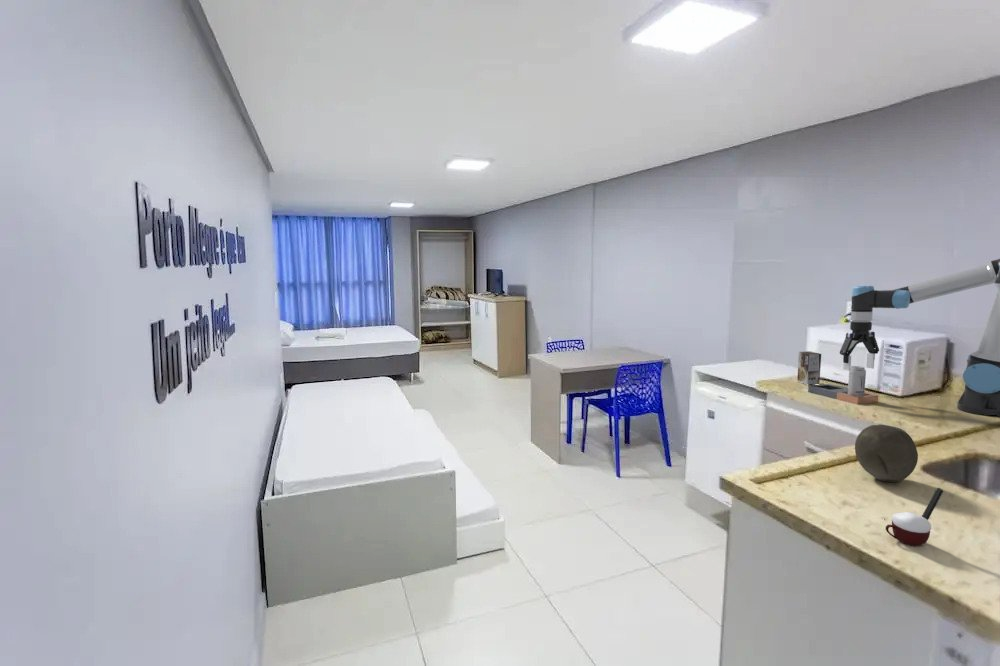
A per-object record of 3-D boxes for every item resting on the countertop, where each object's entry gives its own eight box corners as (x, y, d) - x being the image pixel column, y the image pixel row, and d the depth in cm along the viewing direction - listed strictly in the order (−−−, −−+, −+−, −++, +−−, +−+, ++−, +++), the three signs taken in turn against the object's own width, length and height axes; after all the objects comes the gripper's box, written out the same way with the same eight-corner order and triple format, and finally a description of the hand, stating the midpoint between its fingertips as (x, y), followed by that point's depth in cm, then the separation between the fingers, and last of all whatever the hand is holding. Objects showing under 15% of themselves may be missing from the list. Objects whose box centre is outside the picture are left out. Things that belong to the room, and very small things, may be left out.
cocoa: (885, 544, 103) (887, 490, 102) (883, 530, 109) (884, 478, 107) (945, 555, 98) (948, 499, 97) (939, 540, 103) (942, 486, 102)
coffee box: (820, 385, 246) (822, 353, 245) (807, 385, 246) (809, 354, 245) (809, 381, 255) (810, 351, 254) (796, 381, 256) (798, 351, 254)
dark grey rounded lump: (930, 487, 129) (935, 432, 127) (884, 492, 127) (889, 436, 125) (881, 467, 143) (885, 417, 141) (838, 470, 141) (842, 420, 139)
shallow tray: (808, 391, 233) (808, 385, 233) (827, 390, 237) (827, 383, 236) (857, 404, 210) (857, 397, 210) (878, 402, 214) (878, 395, 213)
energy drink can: (858, 402, 213) (860, 368, 212) (844, 399, 219) (846, 366, 217) (867, 400, 216) (869, 367, 214) (852, 397, 221) (854, 365, 219)
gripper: (873, 319, 220) (870, 365, 222) (831, 321, 213) (829, 369, 215) (891, 320, 213) (888, 368, 215) (847, 323, 206) (845, 372, 208)
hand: (858, 369), depth 215 cm, fingers open, 13 cm apart
